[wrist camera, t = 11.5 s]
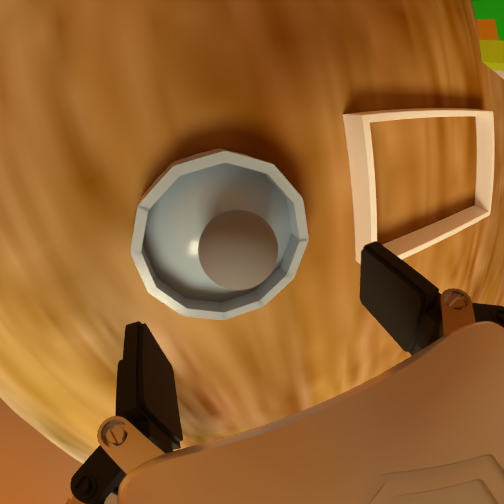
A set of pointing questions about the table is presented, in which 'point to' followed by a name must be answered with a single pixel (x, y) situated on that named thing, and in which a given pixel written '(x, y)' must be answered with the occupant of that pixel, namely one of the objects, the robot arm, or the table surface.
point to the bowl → (196, 219)
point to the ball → (238, 250)
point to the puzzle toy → (491, 33)
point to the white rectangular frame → (366, 190)
